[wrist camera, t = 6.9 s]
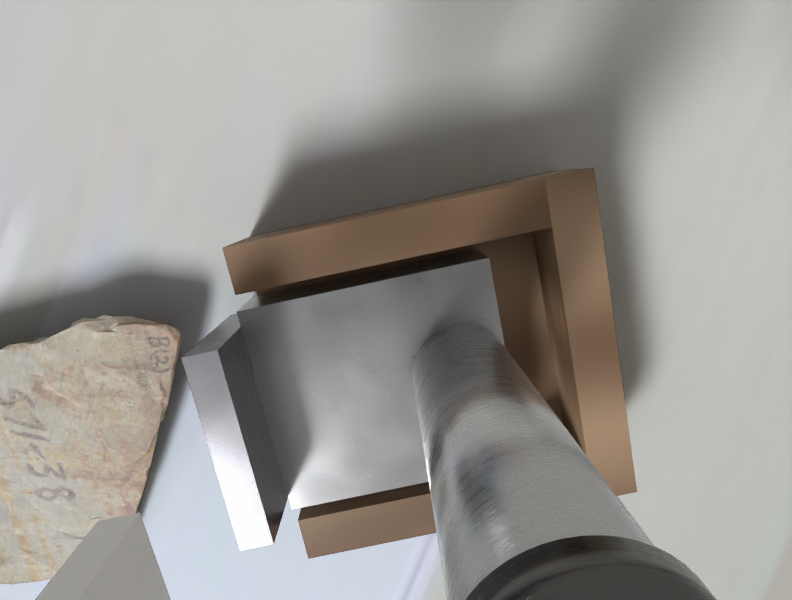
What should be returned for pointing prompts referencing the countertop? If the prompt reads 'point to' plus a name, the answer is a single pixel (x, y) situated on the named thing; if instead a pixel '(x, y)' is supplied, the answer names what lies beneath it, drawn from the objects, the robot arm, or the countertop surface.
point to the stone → (77, 434)
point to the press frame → (517, 304)
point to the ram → (417, 433)
